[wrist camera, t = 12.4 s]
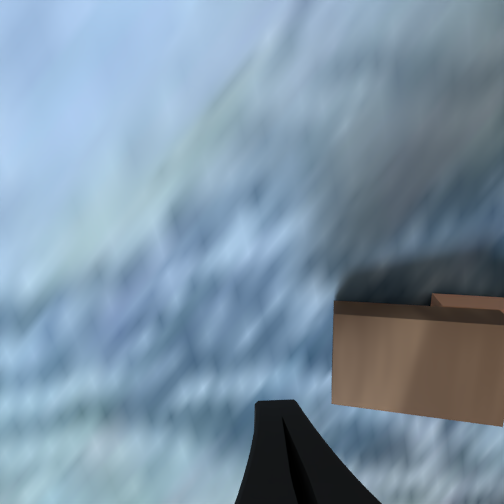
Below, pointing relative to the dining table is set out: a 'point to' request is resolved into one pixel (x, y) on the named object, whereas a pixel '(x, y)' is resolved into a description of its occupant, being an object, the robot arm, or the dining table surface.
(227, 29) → the dining table surface
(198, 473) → the dining table surface
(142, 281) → the dining table surface
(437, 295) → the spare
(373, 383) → the domino
